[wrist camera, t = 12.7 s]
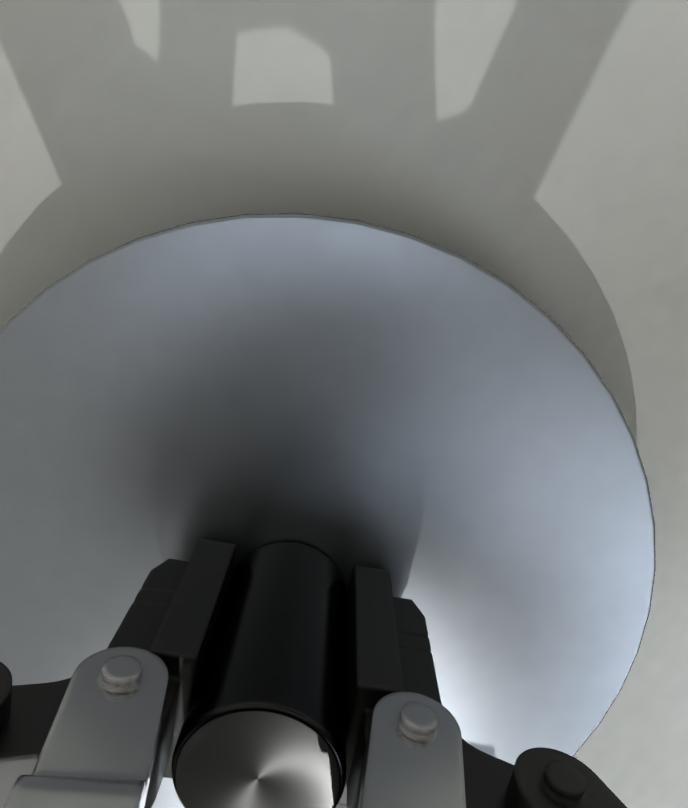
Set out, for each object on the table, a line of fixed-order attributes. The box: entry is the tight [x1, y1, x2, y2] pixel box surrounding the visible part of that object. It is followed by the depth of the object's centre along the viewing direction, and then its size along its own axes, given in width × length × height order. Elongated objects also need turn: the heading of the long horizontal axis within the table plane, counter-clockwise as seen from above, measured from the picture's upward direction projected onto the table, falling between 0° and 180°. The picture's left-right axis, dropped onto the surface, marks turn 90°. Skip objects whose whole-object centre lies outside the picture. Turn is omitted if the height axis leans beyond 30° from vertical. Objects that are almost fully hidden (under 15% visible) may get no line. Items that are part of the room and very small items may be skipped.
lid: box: [0, 214, 655, 808], centre depth 11 cm, size 15×15×6 cm
